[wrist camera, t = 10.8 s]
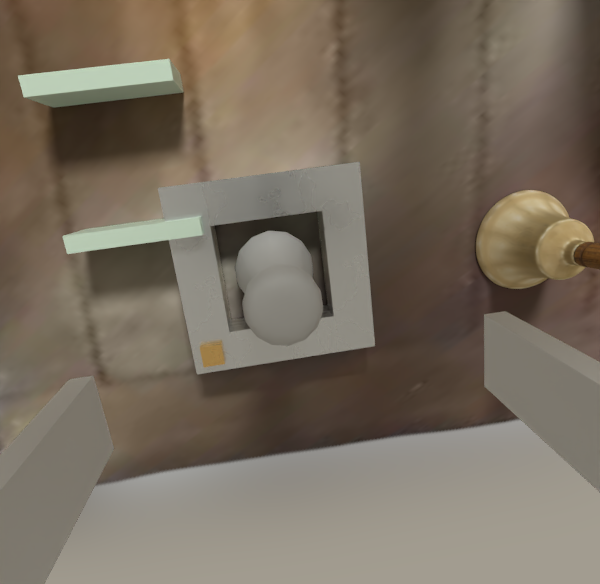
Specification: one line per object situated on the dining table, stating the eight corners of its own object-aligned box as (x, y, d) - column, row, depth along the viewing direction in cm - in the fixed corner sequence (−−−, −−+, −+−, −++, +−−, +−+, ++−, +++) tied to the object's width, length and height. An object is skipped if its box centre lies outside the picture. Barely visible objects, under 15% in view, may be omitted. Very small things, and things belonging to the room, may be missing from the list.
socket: (166, 187, 32) (156, 188, 28) (350, 163, 33) (361, 161, 29) (201, 358, 36) (196, 377, 32) (365, 332, 37) (376, 348, 33)
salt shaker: (274, 312, 35) (285, 386, 23) (221, 265, 34) (201, 318, 21) (323, 260, 35) (363, 308, 22) (271, 211, 33) (282, 232, 21)
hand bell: (470, 201, 35) (643, 221, 19) (567, 180, 35) (812, 182, 20) (479, 297, 37) (640, 383, 22) (570, 276, 37) (792, 346, 22)
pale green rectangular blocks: (48, 88, 29) (17, 75, 26) (180, 74, 30) (169, 58, 26) (89, 244, 32) (67, 253, 28) (208, 228, 33) (202, 235, 29)
